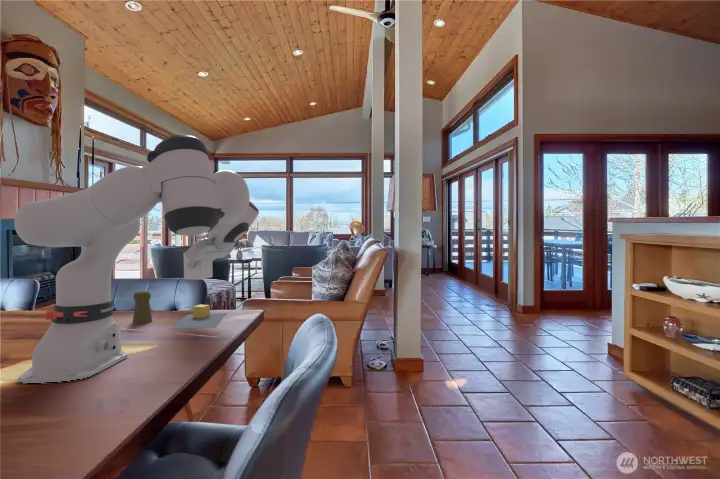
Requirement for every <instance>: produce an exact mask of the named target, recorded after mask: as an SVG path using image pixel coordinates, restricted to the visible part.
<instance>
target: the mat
mask: <svg viewBox="0 0 720 479" xmlns="http://www.w3.org/2000/svg"><path fill="white" fill-rule="evenodd" d="M227 314H228V313H227V312H224V313H223V312H221V313H216V312H215V313H210V316H208V317H205V318H193V313H191V314H186V315H185V316H184V317H183V318H181V319H180V320H179V321H178V322H177V323H176V324H174V325H173V326H172V327H171V328H169V330H189V329H190V330H191V329H194V330H195V329H216V328H217V327H218V326H219V325H220V323H221V322H222V321H223V319H224V318H225V317H226V315H227Z"/></svg>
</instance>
